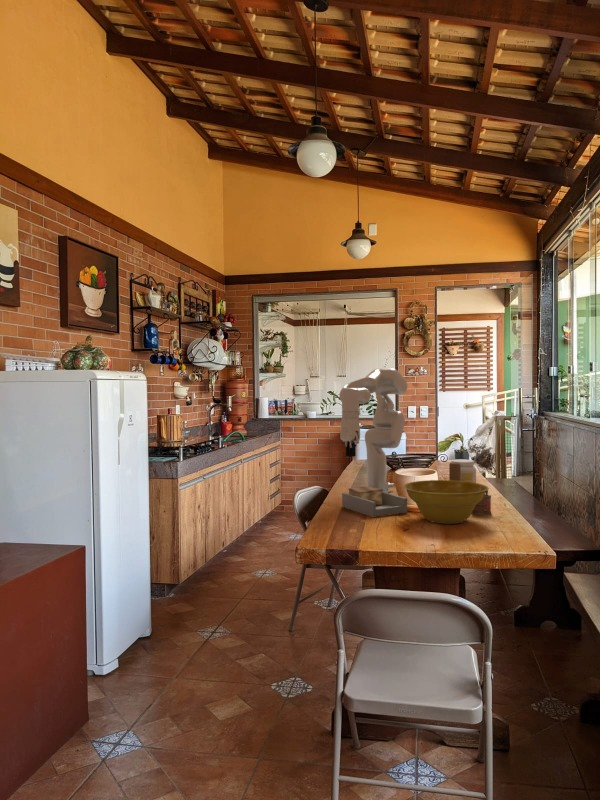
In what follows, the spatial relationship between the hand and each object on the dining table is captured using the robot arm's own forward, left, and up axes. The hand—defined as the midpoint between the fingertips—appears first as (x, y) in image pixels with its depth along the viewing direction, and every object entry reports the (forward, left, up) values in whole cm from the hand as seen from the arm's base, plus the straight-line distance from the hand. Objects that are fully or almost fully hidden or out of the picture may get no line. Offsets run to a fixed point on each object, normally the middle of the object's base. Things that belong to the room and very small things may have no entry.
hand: (350, 455), depth 257 cm
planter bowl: (-13, +47, -21) cm, 53 cm away
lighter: (-34, +45, -21) cm, 60 cm away
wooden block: (-40, +27, -21) cm, 53 cm away
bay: (0, +17, -21) cm, 27 cm away
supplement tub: (-54, +14, -21) cm, 60 cm away
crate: (0, +12, -20) cm, 23 cm away
